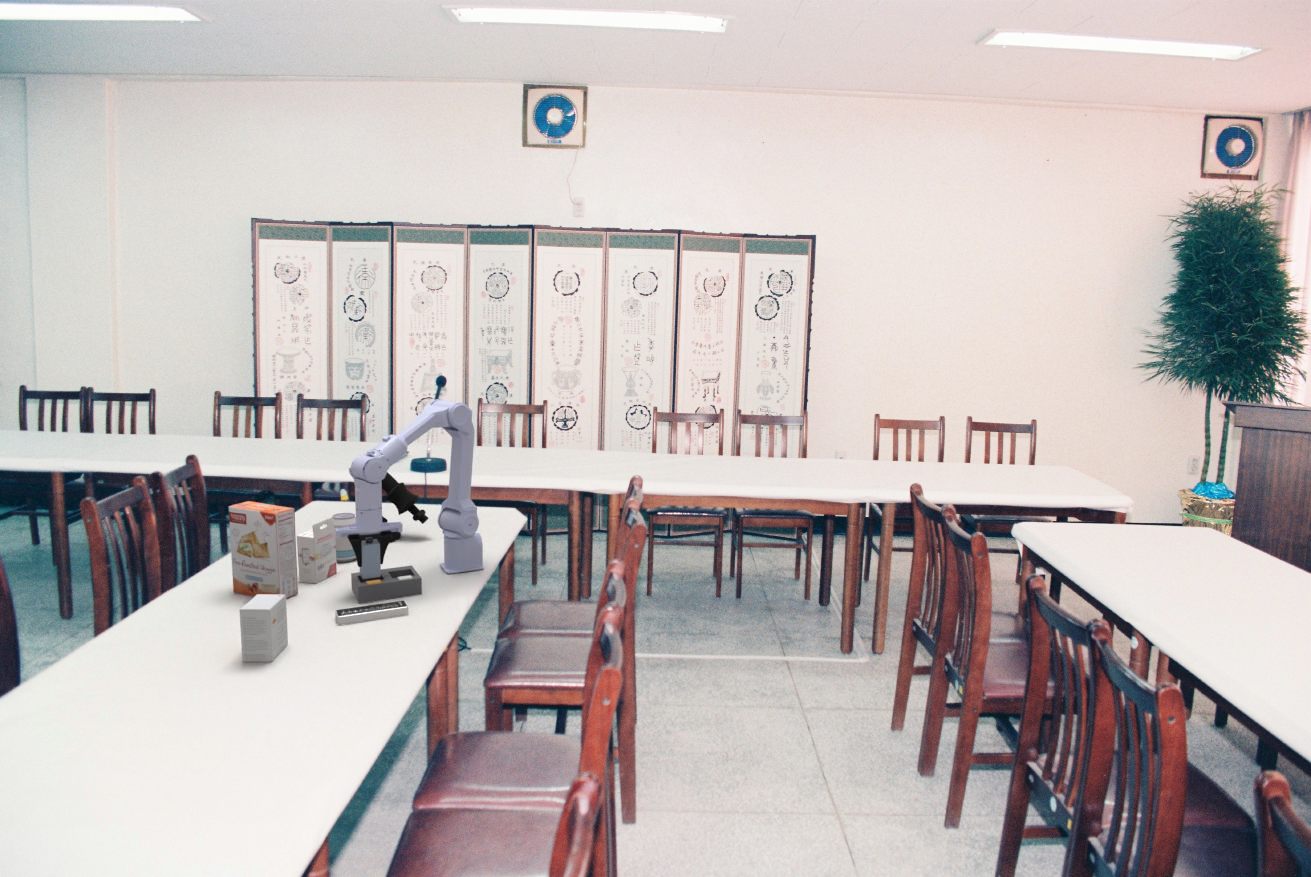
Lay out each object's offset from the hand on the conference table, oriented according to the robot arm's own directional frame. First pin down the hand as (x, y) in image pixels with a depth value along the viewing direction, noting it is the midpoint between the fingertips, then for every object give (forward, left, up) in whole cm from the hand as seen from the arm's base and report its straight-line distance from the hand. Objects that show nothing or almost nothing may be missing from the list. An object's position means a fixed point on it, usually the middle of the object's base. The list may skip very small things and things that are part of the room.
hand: (370, 564), depth 179 cm
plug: (0, 0, -3) cm, 3 cm away
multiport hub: (+2, +14, -8) cm, 16 cm away
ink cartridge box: (+9, -17, -8) cm, 21 cm away
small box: (+23, +24, -8) cm, 34 cm away
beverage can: (+1, -29, -8) cm, 30 cm away
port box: (-4, 0, -7) cm, 8 cm away
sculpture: (-13, -44, -8) cm, 46 cm away
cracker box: (+21, -10, -8) cm, 25 cm away
